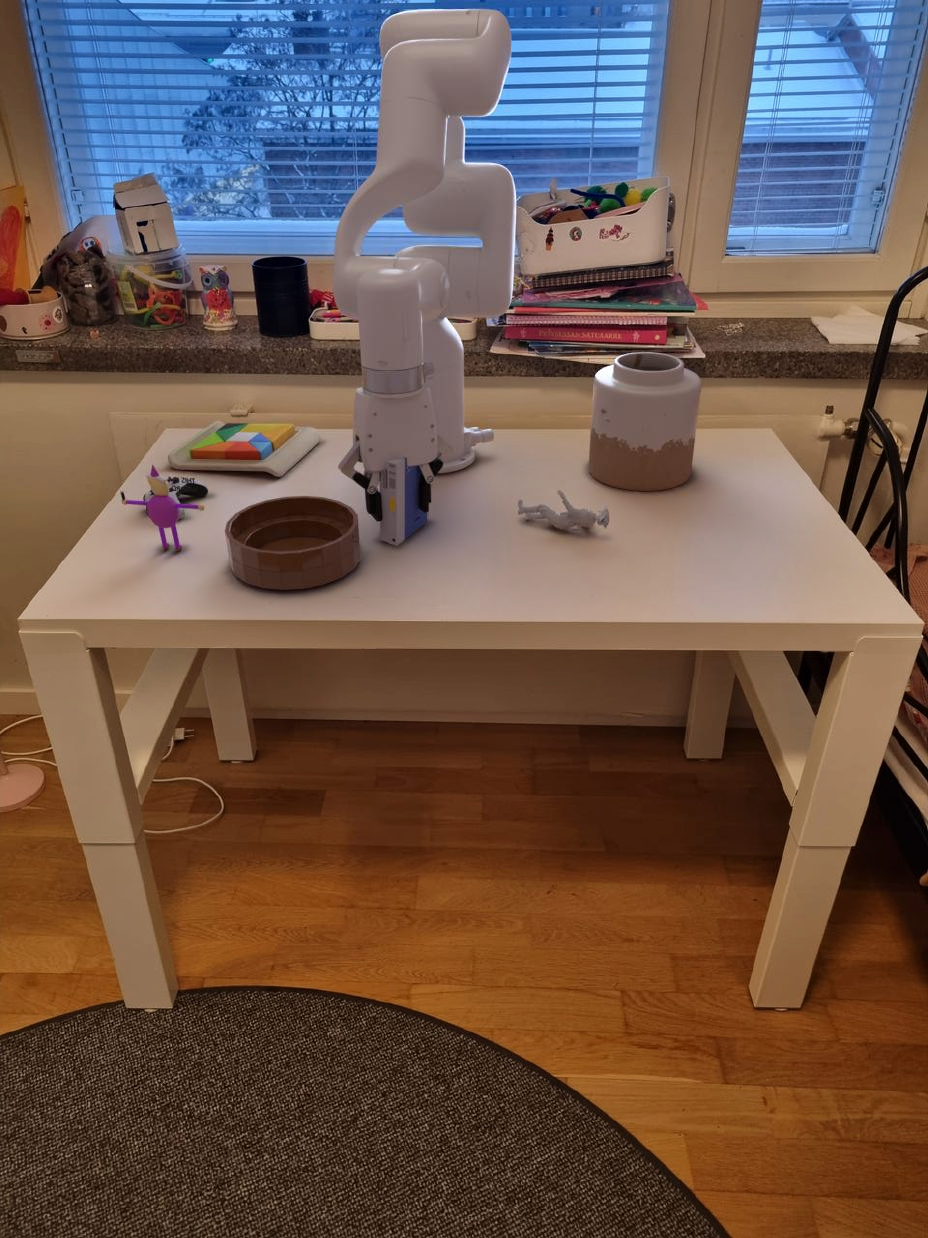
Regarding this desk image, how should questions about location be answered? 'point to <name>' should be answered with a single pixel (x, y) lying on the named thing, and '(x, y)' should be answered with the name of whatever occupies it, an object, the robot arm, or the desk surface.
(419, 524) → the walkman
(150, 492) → the game controller
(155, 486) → the wizard figurine
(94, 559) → the desk surface
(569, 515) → the soldier figure
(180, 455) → the wooden puzzle
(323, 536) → the bowl
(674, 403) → the vase
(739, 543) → the desk surface
